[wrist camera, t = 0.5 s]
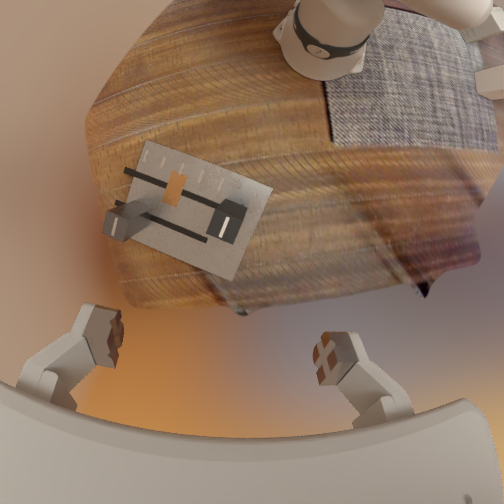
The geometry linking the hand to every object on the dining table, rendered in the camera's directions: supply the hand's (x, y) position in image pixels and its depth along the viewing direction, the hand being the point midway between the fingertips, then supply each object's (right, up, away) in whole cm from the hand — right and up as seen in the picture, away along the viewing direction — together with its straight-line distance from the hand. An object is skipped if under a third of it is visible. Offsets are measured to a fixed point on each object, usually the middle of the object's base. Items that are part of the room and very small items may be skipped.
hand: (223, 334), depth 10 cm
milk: (+59, +44, +29) cm, 79 cm away
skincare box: (+57, +60, +24) cm, 86 cm away
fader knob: (-3, +10, +40) cm, 42 cm away
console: (-12, +12, +43) cm, 46 cm away
